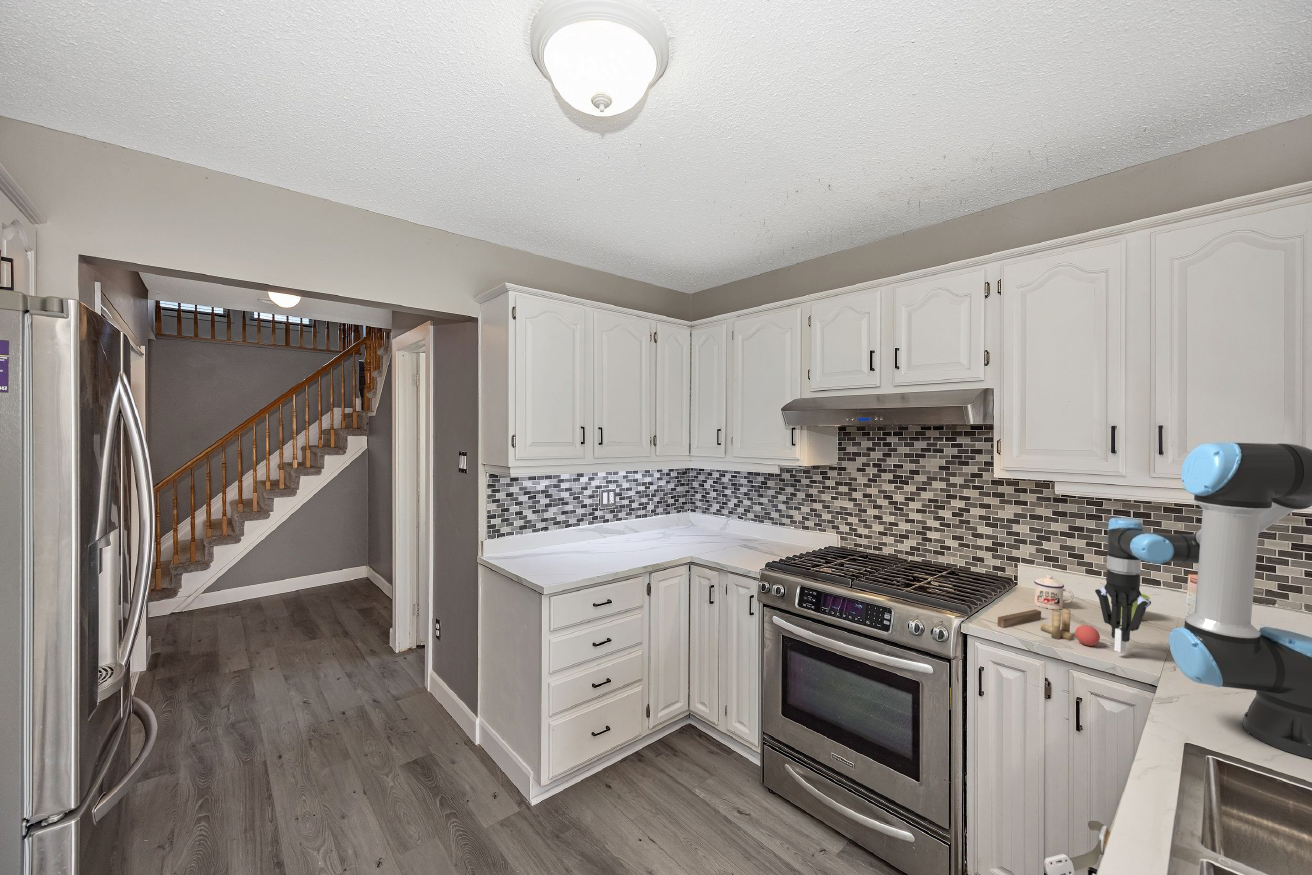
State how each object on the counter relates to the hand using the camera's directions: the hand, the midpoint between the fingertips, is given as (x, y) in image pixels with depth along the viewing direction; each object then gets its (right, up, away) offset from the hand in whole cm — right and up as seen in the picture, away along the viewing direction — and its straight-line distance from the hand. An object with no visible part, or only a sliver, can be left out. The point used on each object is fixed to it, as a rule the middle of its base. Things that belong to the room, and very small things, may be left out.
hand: (1119, 650), depth 159 cm
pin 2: (-4, -1, +16) cm, 16 cm away
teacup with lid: (+12, -1, +43) cm, 45 cm away
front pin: (-5, -1, +12) cm, 13 cm away
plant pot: (+31, -2, +32) cm, 45 cm away
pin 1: (-9, -1, +14) cm, 16 cm away
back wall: (-12, -1, +27) cm, 29 cm away
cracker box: (+40, -2, +12) cm, 42 cm away
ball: (-3, +1, +9) cm, 9 cm away
